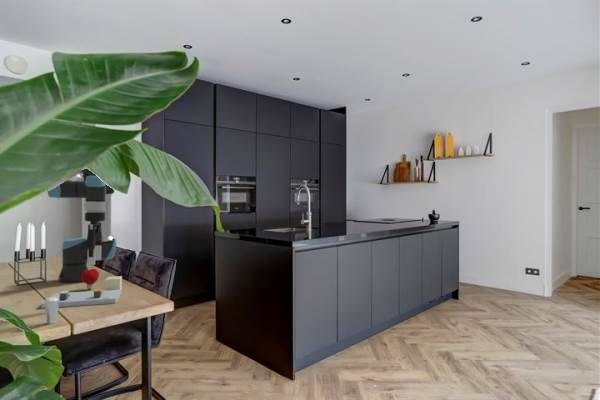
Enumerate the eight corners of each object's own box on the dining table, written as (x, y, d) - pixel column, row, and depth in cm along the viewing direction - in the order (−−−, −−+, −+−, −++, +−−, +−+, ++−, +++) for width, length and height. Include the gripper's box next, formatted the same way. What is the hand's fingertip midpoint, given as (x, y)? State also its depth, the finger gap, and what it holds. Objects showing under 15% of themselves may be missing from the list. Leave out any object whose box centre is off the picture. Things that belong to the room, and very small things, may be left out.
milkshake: (55, 324, 130) (55, 297, 130) (41, 324, 131) (41, 296, 131) (64, 320, 135) (64, 294, 135) (50, 320, 135) (50, 293, 135)
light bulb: (88, 292, 176) (88, 271, 176) (76, 291, 178) (76, 271, 178) (102, 287, 186) (102, 268, 186) (90, 286, 187) (91, 267, 187)
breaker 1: (61, 298, 157) (61, 291, 157) (68, 297, 158) (68, 290, 158) (59, 299, 155) (59, 292, 155) (66, 299, 155) (66, 292, 155)
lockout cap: (107, 290, 180) (108, 276, 180) (121, 289, 182) (121, 276, 182) (105, 293, 174) (105, 279, 174) (119, 292, 176) (119, 278, 176)
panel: (53, 297, 165) (54, 293, 165) (121, 293, 175) (121, 289, 175) (40, 308, 149) (40, 303, 149) (115, 303, 159) (115, 298, 159)
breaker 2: (95, 295, 162) (95, 289, 162) (101, 295, 162) (101, 288, 163) (93, 297, 159) (93, 290, 159) (100, 297, 160) (100, 290, 160)
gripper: (91, 211, 164) (90, 258, 164) (77, 212, 142) (77, 267, 141) (109, 211, 167) (109, 257, 167) (99, 212, 144) (98, 266, 144)
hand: (94, 262), depth 154 cm, fingers open, 12 cm apart
